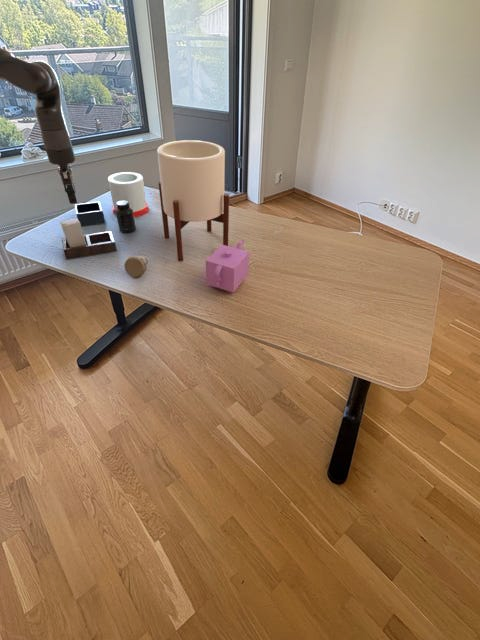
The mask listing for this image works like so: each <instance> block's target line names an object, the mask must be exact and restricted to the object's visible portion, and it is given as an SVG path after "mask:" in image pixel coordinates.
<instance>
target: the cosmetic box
mask: <svg viewBox="0 0 480 640" xmlns="http://www.w3.org/2000/svg"><path fill="white" fill-rule="evenodd" d="M60 225H61V228H62V231H63V235H64V236H65V237H64V238H66V240H67V243H68V246H69V248H71V247H77V246H84V245H87V244H86V241H85V237H84V235H85V234H84V231H83V228H82V227H81V224H80V222H79V220H78V218H77V217H75V218H71V219H66V220H62V221H60Z"/></svg>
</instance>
